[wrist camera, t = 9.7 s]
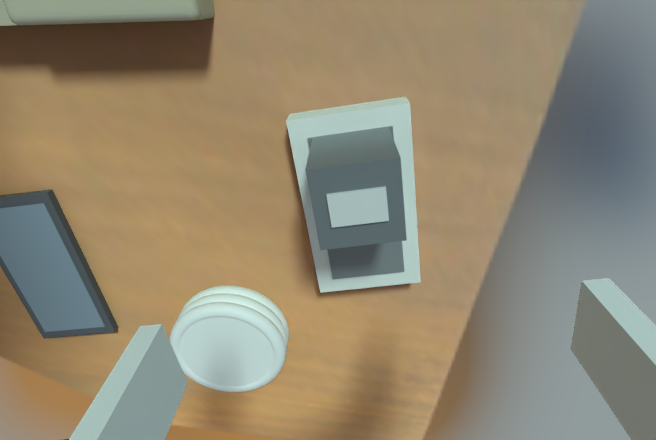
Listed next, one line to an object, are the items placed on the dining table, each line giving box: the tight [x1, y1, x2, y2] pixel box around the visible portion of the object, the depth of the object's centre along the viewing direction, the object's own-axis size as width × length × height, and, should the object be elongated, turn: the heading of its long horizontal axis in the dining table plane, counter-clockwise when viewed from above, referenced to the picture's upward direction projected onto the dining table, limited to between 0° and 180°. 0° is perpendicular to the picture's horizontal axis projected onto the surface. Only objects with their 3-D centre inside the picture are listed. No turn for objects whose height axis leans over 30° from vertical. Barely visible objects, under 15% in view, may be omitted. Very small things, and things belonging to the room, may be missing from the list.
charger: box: [305, 127, 407, 250], centre depth 25 cm, size 5×5×6 cm
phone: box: [0, 190, 118, 338], centre depth 35 cm, size 14×7×1 cm, turn 8°
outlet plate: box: [286, 97, 420, 293], centre depth 30 cm, size 14×8×2 cm, turn 9°
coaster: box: [170, 285, 289, 392], centre depth 36 cm, size 10×10×4 cm
